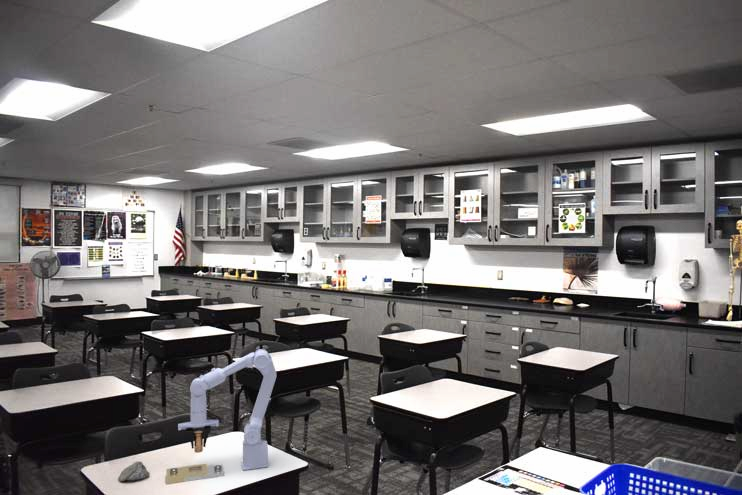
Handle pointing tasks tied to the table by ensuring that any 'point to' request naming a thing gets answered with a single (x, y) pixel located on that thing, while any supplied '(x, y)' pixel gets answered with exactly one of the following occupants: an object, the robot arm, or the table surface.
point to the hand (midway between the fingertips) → (198, 446)
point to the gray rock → (134, 472)
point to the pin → (198, 441)
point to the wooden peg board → (193, 473)
